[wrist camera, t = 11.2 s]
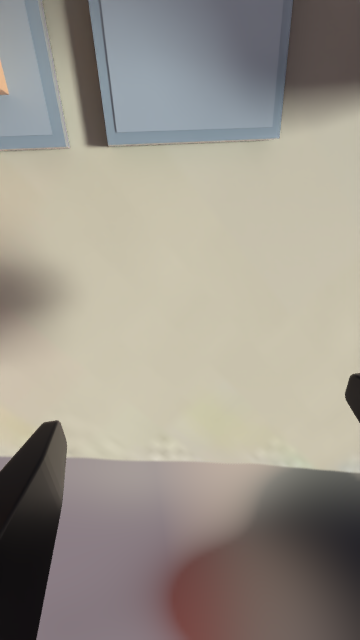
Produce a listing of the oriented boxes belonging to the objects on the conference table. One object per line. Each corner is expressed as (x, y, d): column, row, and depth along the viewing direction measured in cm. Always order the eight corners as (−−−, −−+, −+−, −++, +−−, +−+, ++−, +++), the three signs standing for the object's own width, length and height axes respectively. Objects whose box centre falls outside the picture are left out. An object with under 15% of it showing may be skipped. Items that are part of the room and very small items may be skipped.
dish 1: (290, -108, 12) (307, -136, 11) (269, 140, 17) (280, 138, 15) (72, -125, 11) (66, -158, 10) (109, 146, 15) (107, 144, 14)
